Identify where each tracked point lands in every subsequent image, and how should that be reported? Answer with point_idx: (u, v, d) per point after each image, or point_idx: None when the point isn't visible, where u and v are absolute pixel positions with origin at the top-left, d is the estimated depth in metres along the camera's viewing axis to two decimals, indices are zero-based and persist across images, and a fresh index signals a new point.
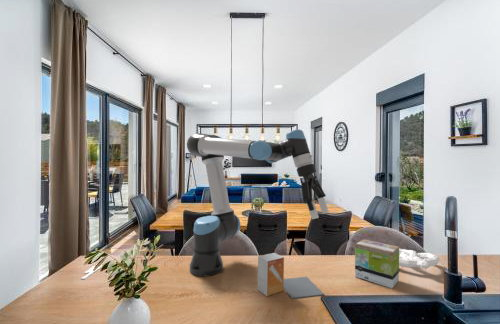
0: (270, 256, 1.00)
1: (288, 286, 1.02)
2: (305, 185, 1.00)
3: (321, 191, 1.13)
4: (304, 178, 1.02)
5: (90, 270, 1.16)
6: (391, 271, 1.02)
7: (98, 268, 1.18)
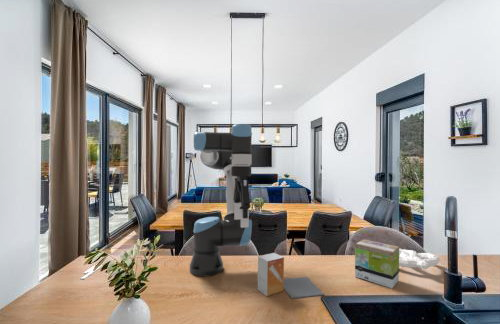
0: (269, 256, 1.00)
1: (288, 286, 1.02)
2: None
3: None
4: None
5: (90, 270, 1.16)
6: (391, 271, 1.02)
7: (98, 268, 1.18)
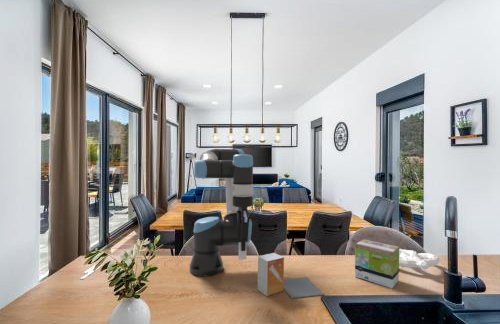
0: (270, 256, 1.00)
1: (288, 286, 1.02)
2: None
3: None
4: None
5: (89, 270, 1.16)
6: (391, 271, 1.02)
7: (97, 268, 1.18)
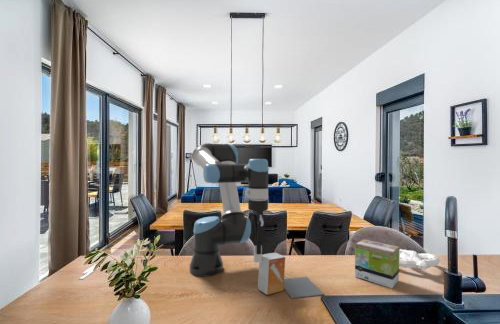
0: (271, 255, 1.00)
1: (288, 286, 1.02)
2: None
3: None
4: None
5: (88, 270, 1.16)
6: (391, 271, 1.02)
7: None
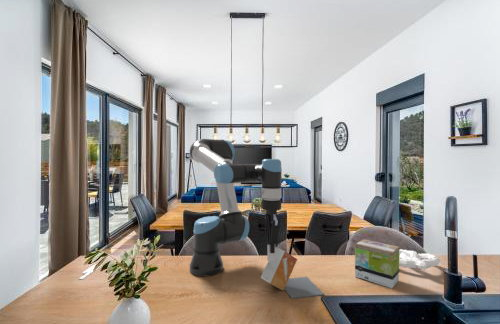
0: None
1: (288, 286, 1.02)
2: None
3: None
4: None
5: (88, 270, 1.16)
6: (391, 271, 1.02)
7: None
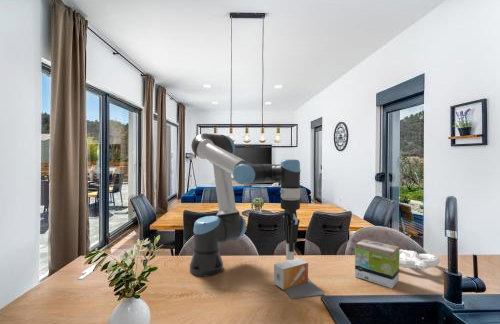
0: None
1: None
2: None
3: None
4: None
5: (87, 270, 1.16)
6: (391, 271, 1.02)
7: None
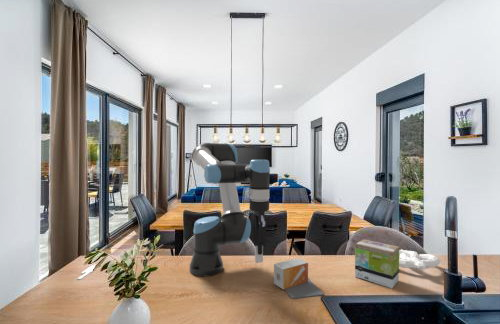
0: None
1: None
2: None
3: None
4: None
5: (87, 270, 1.16)
6: (391, 271, 1.02)
7: None
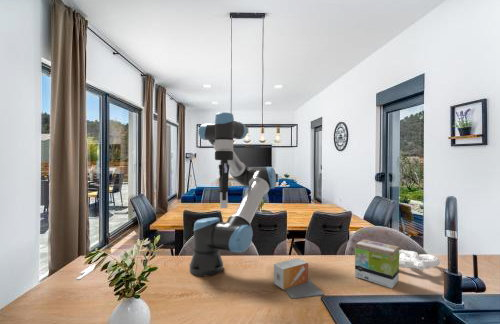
0: None
1: None
2: None
3: None
4: None
5: (86, 270, 1.16)
6: (391, 271, 1.02)
7: None
